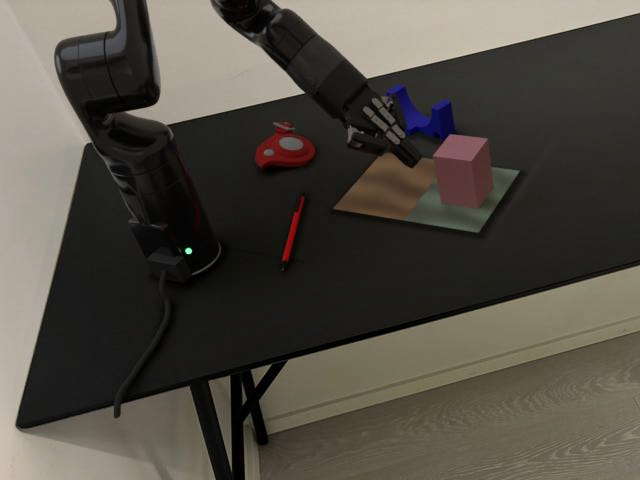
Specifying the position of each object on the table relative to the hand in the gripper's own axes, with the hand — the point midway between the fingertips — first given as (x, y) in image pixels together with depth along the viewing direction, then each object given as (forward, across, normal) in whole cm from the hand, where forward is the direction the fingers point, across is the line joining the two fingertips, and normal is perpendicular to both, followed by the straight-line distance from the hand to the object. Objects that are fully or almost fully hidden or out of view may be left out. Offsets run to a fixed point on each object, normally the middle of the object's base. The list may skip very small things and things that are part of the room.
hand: (417, 163), depth 123 cm
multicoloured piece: (+4, 0, -4) cm, 5 cm away
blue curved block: (-2, -16, -10) cm, 19 cm away
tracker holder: (-16, -5, -23) cm, 28 cm away
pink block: (+8, -1, +2) cm, 9 cm away
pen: (-6, +14, -14) cm, 21 cm away
